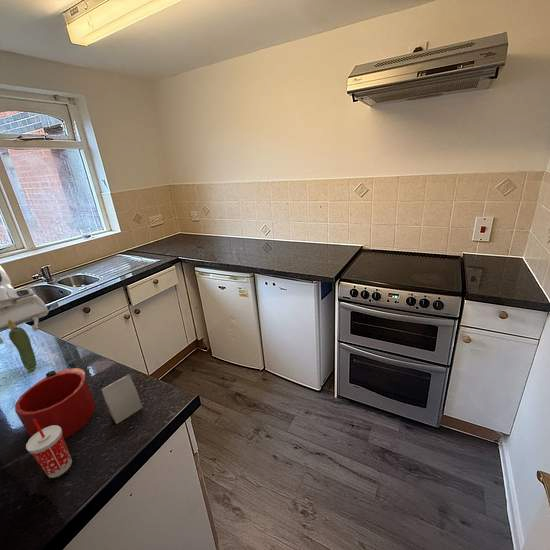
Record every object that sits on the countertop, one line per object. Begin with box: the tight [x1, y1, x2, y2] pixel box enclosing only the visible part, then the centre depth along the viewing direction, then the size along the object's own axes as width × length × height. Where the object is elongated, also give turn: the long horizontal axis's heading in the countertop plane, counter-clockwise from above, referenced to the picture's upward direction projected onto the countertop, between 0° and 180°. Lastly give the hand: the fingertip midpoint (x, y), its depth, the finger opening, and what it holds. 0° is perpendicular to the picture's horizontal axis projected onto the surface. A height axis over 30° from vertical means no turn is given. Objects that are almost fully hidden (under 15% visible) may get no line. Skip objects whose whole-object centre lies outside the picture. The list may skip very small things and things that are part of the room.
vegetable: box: [8, 319, 37, 373], centre depth 98 cm, size 4×4×20 cm
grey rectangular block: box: [101, 374, 144, 425], centre depth 77 cm, size 4×7×10 cm, turn 135°
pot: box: [14, 371, 97, 439], centre depth 77 cm, size 15×15×10 cm
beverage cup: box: [25, 419, 73, 479], centre depth 63 cm, size 6×6×14 cm
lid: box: [34, 367, 87, 385], centre depth 90 cm, size 16×16×6 cm
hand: (19, 336), depth 98 cm, fingers open, 8 cm apart
